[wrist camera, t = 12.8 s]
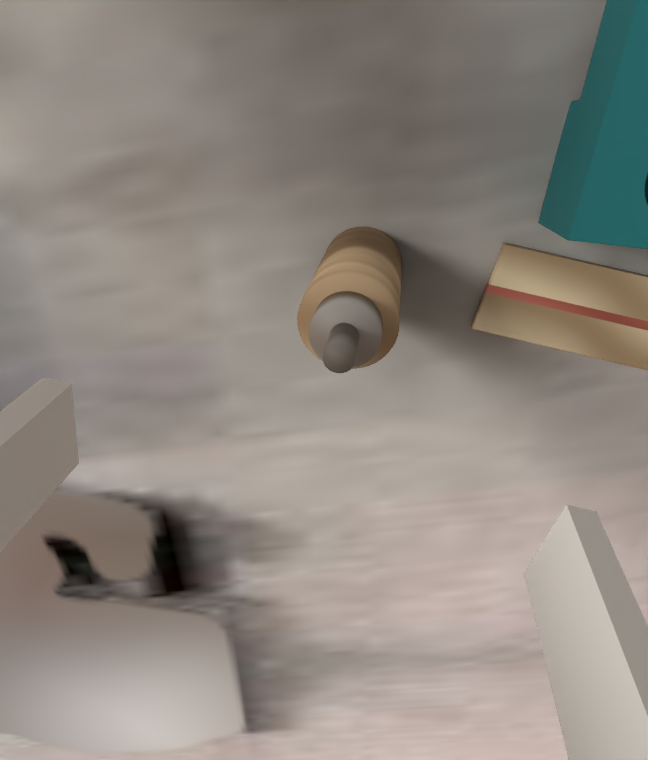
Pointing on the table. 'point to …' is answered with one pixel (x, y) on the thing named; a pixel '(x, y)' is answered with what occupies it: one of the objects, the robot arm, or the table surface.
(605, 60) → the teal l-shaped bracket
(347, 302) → the awl
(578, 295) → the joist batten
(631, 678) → the robot arm
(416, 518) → the table surface
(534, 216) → the table surface
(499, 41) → the table surface
